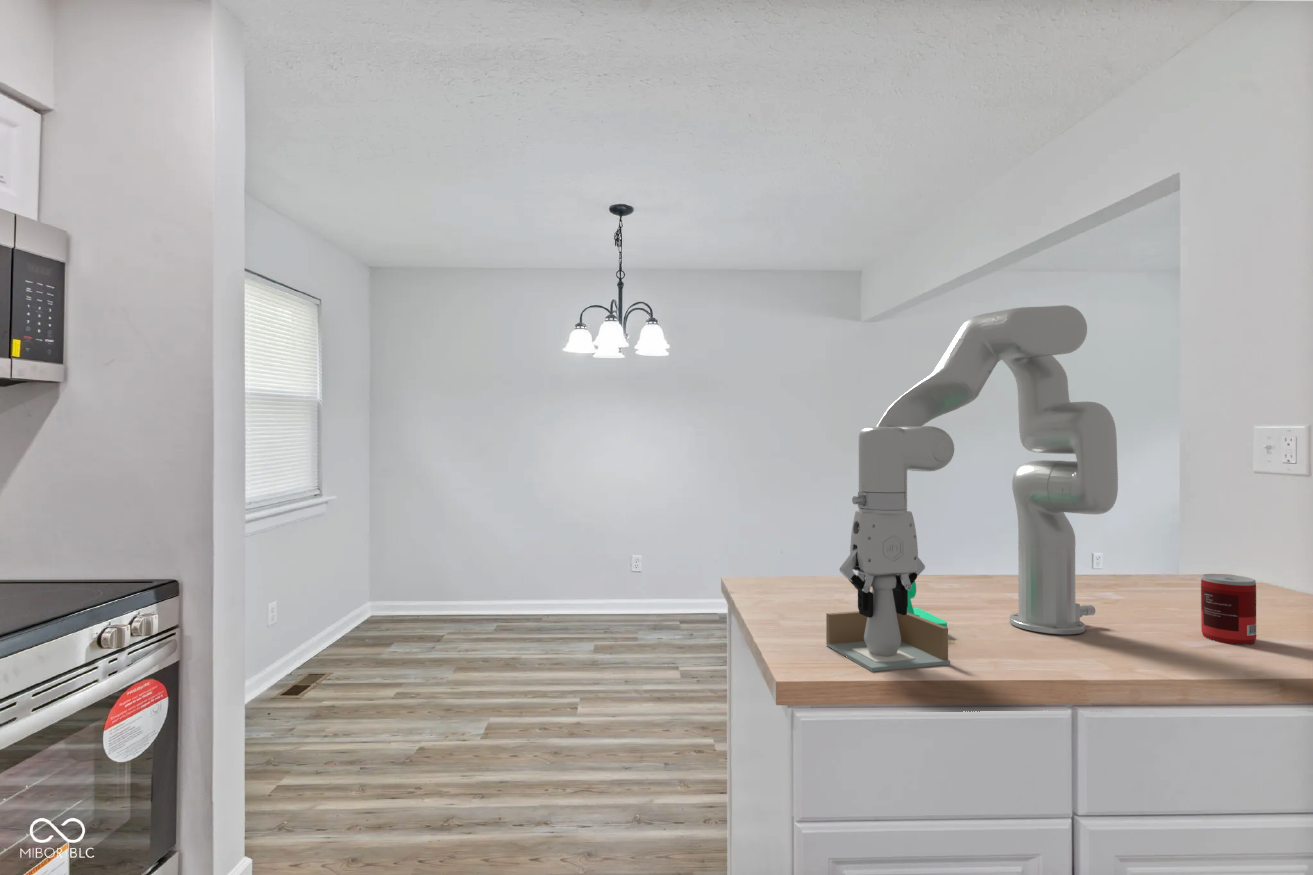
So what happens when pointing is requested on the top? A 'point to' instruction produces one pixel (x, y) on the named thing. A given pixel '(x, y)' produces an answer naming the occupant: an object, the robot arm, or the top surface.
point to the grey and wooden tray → (917, 647)
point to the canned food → (1228, 608)
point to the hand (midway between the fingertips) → (882, 613)
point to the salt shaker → (883, 619)
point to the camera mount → (921, 612)
